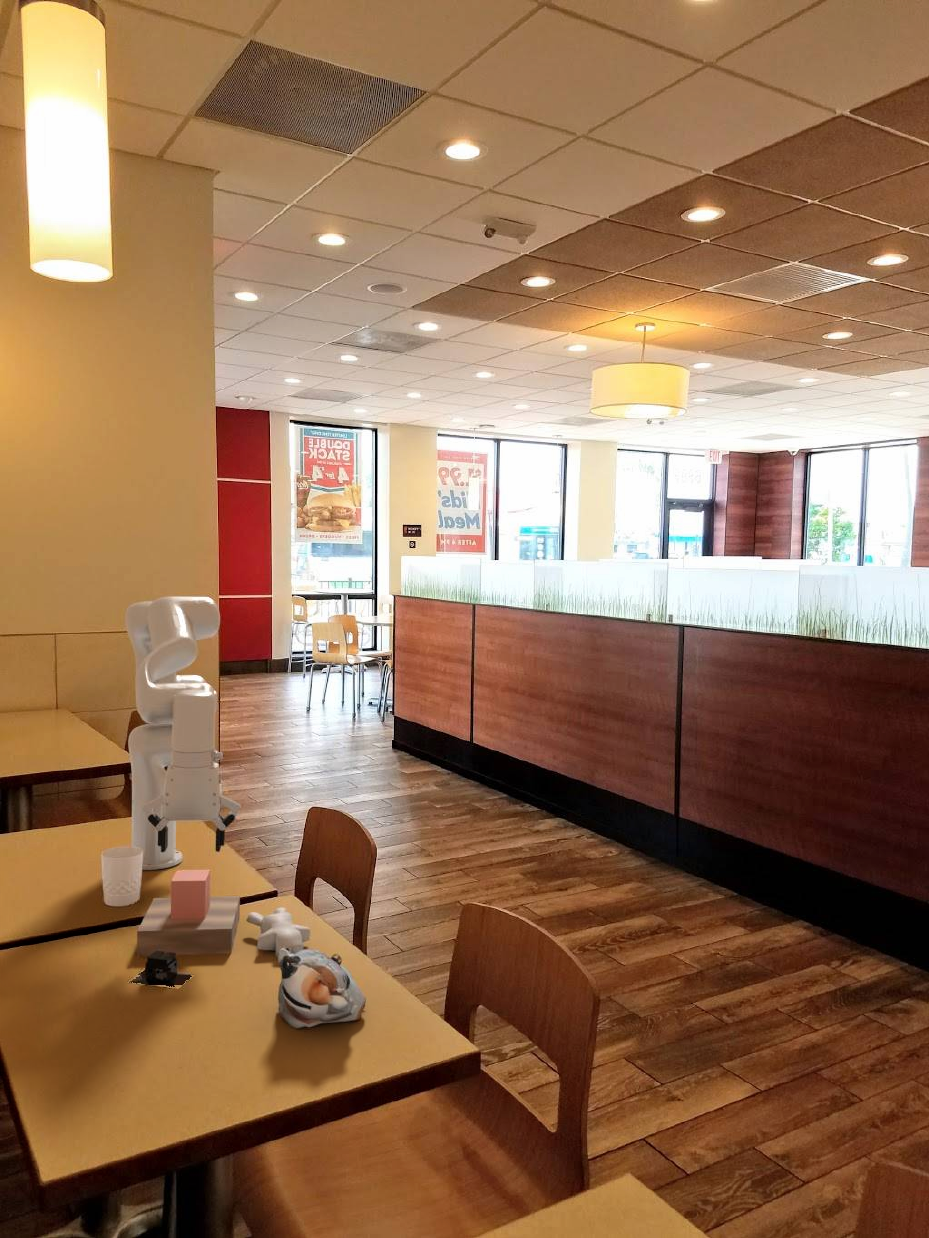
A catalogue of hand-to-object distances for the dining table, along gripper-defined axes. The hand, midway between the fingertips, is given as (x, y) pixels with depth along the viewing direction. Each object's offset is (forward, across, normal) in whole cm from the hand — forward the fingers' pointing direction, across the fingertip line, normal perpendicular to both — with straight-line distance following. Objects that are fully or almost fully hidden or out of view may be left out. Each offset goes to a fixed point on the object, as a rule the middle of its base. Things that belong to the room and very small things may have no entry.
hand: (191, 849), depth 169 cm
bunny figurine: (+16, -16, +6) cm, 24 cm away
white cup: (+17, +16, -18) cm, 29 cm away
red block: (+12, 0, +1) cm, 12 cm away
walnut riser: (+17, 0, +1) cm, 17 cm away
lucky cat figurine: (+15, -24, +34) cm, 44 cm away
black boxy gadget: (+16, +2, +18) cm, 25 cm away
